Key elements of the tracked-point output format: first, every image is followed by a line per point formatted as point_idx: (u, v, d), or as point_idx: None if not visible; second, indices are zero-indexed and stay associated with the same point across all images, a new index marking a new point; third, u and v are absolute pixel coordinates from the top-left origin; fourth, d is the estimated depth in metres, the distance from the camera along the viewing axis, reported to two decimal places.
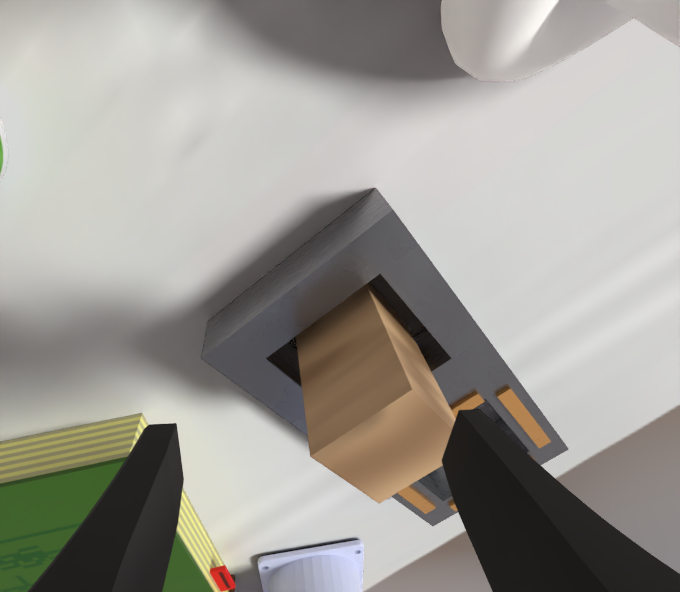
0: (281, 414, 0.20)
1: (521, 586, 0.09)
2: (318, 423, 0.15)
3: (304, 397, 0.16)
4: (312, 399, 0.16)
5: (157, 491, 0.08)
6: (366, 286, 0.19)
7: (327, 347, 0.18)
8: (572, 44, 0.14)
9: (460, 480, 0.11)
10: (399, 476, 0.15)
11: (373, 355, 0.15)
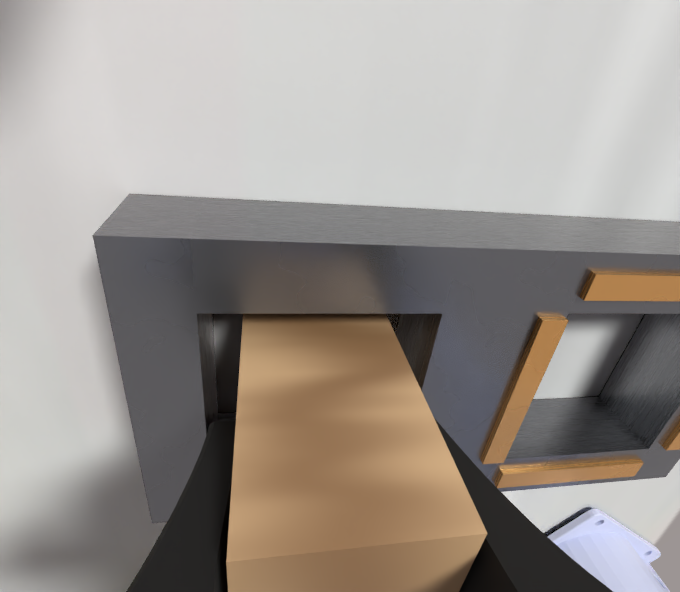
0: None
1: None
2: None
3: None
4: None
5: None
6: (244, 315, 0.12)
7: None
8: None
9: None
10: None
11: None
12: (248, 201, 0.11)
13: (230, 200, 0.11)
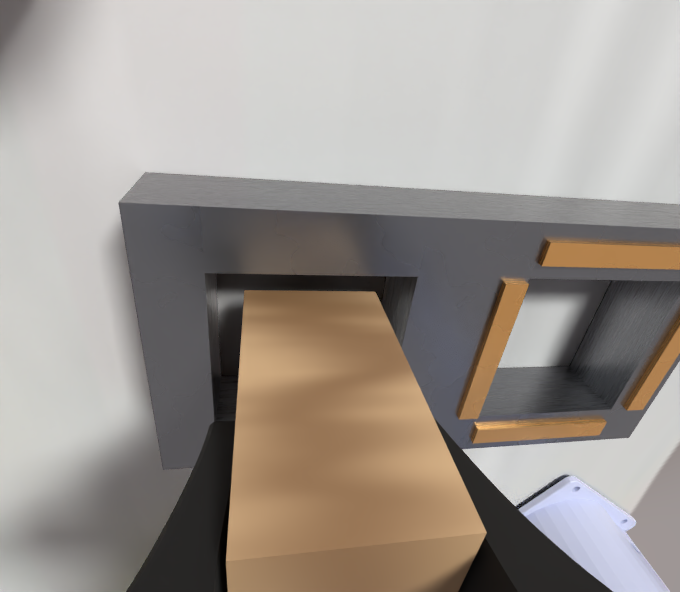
0: None
1: None
2: None
3: None
4: None
5: None
6: (243, 314, 0.12)
7: None
8: None
9: None
10: None
11: None
12: (248, 179, 0.13)
13: (233, 178, 0.13)
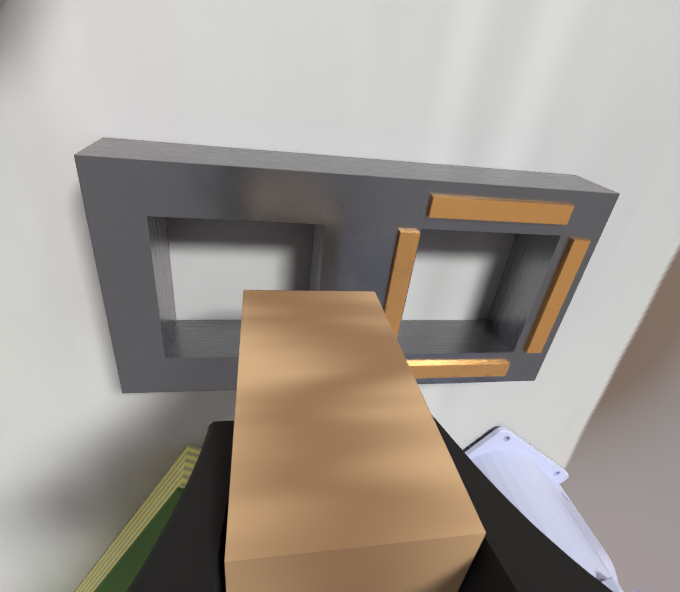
0: None
1: None
2: None
3: None
4: None
5: None
6: (242, 314, 0.12)
7: None
8: None
9: None
10: None
11: None
12: (189, 145, 0.16)
13: (175, 144, 0.16)
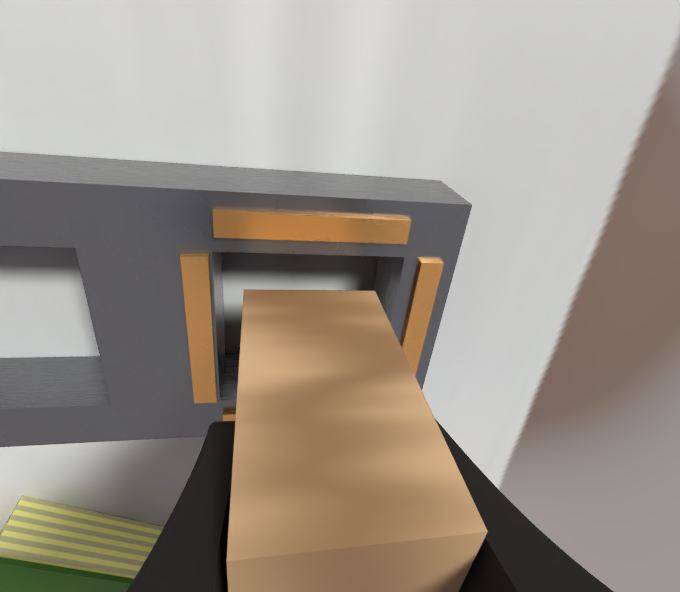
0: (27, 443, 0.15)
1: None
2: None
3: None
4: None
5: None
6: (243, 314, 0.12)
7: None
8: None
9: None
10: None
11: None
12: None
13: None
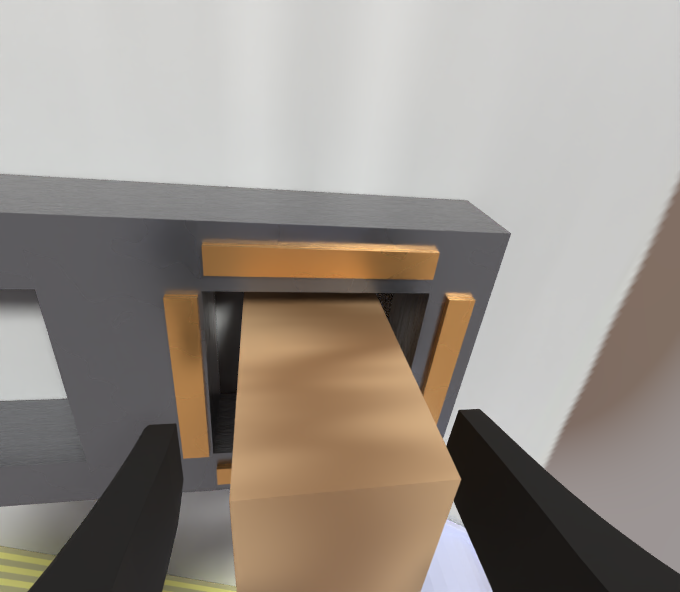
0: None
1: (521, 586, 0.09)
2: None
3: None
4: None
5: (157, 491, 0.08)
6: (244, 299, 0.13)
7: None
8: None
9: None
10: (398, 562, 0.09)
11: None
12: None
13: None
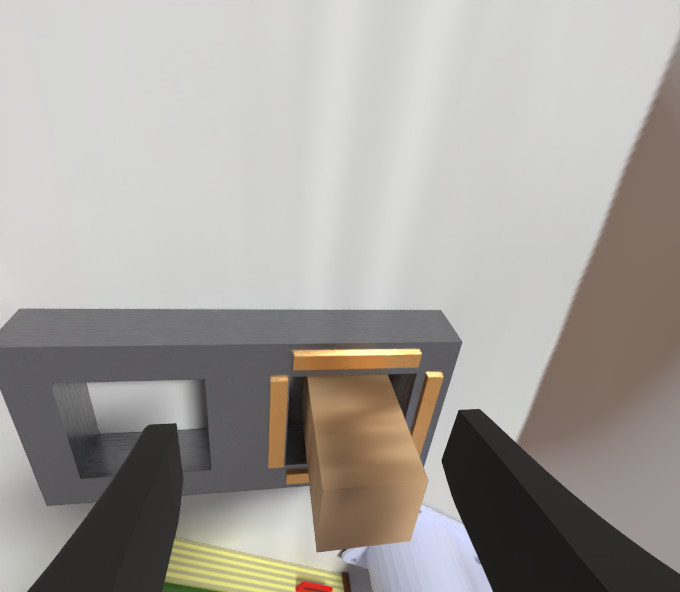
0: None
1: (521, 586, 0.09)
2: (314, 520, 0.18)
3: (310, 493, 0.20)
4: (311, 496, 0.20)
5: (157, 491, 0.08)
6: None
7: (308, 441, 0.21)
8: None
9: (460, 480, 0.11)
10: (399, 523, 0.18)
11: (314, 451, 0.18)
12: (93, 310, 0.19)
13: (81, 310, 0.19)
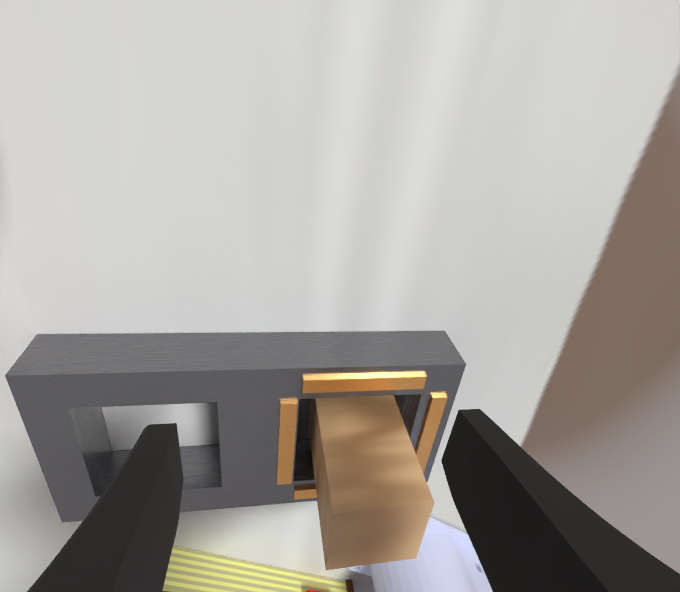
0: None
1: (521, 586, 0.09)
2: (323, 538, 0.19)
3: None
4: (320, 514, 0.20)
5: (157, 491, 0.08)
6: None
7: (316, 459, 0.21)
8: None
9: (460, 480, 0.11)
10: (405, 542, 0.18)
11: (323, 472, 0.19)
12: (108, 335, 0.20)
13: (97, 335, 0.19)
